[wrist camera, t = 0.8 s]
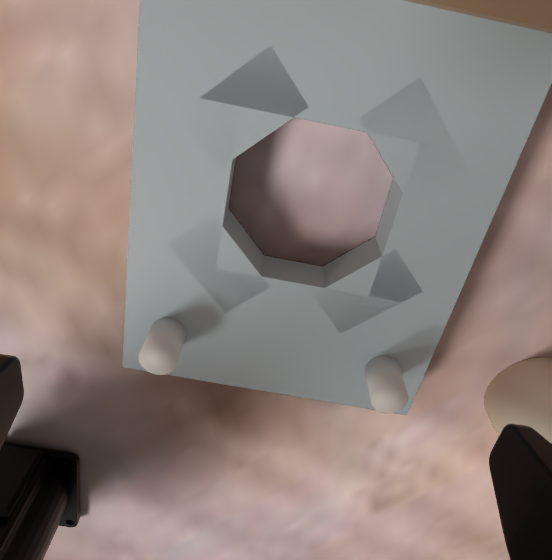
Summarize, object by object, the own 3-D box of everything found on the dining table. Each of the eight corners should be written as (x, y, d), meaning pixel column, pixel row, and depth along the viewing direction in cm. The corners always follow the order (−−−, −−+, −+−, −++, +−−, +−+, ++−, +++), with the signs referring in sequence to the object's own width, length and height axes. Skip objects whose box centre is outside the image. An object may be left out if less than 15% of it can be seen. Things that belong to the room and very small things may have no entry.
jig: (399, 388, 26) (415, 447, 22) (134, 342, 25) (108, 396, 22) (570, -30, 17) (643, -40, 13) (162, -124, 16) (125, -162, 12)
